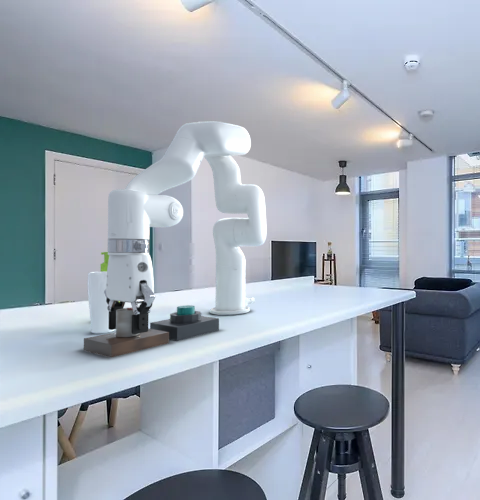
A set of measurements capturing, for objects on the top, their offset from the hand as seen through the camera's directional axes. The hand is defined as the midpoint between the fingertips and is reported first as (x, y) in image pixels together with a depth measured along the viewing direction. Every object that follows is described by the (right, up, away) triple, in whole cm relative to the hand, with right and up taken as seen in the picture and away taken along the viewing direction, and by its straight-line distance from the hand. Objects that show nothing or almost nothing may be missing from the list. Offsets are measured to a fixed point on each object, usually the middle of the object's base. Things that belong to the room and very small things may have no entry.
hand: (128, 330), depth 74 cm
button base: (+6, -4, +12) cm, 14 cm away
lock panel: (0, -4, 0) cm, 4 cm away
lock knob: (0, -1, 0) cm, 1 cm away
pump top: (+6, +1, +12) cm, 14 cm away
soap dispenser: (-22, -4, +26) cm, 35 cm away
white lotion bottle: (-15, -4, +13) cm, 20 cm away
